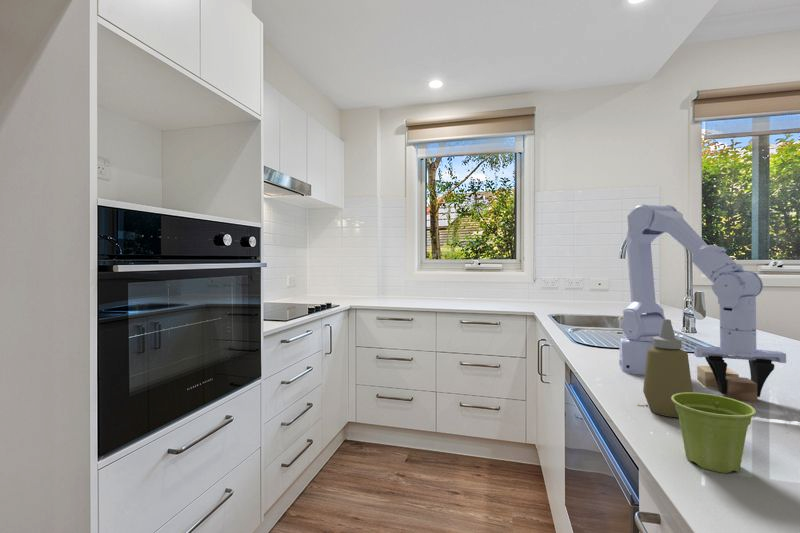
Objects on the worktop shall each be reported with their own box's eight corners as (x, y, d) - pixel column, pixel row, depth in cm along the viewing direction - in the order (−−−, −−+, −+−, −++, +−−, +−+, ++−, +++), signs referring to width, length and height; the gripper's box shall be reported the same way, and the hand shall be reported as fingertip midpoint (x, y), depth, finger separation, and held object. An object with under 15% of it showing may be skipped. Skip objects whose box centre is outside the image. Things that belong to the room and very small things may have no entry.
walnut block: (729, 403, 79) (728, 381, 79) (721, 396, 83) (720, 375, 83) (757, 406, 77) (757, 383, 77) (747, 399, 81) (747, 377, 81)
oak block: (705, 387, 87) (705, 371, 87) (697, 379, 92) (697, 365, 92) (738, 390, 84) (738, 374, 84) (728, 382, 90) (728, 367, 90)
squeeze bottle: (687, 408, 76) (686, 318, 76) (699, 423, 69) (698, 323, 69) (640, 402, 79) (639, 316, 79) (646, 416, 72) (645, 321, 72)
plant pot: (765, 488, 49) (764, 420, 49) (674, 468, 54) (673, 407, 54) (747, 457, 57) (746, 398, 57) (669, 442, 62) (669, 388, 62)
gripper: (701, 329, 79) (702, 395, 79) (794, 334, 73) (795, 404, 73) (690, 325, 86) (691, 385, 86) (775, 328, 80) (776, 393, 80)
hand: (738, 393), depth 80 cm, fingers open, 5 cm apart
